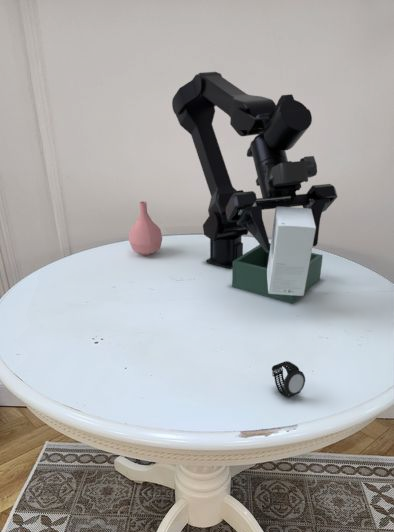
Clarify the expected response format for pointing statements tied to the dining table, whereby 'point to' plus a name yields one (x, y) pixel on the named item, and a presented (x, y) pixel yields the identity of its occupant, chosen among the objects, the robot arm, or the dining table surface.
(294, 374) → the smartwatch
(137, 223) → the pink vase
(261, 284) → the green storage bin
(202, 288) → the dining table surface
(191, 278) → the dining table surface
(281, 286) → the small box
